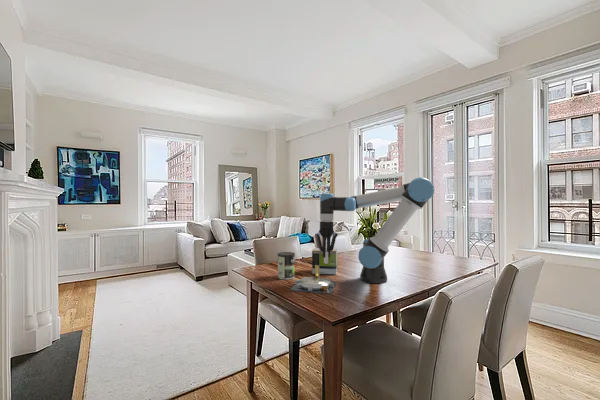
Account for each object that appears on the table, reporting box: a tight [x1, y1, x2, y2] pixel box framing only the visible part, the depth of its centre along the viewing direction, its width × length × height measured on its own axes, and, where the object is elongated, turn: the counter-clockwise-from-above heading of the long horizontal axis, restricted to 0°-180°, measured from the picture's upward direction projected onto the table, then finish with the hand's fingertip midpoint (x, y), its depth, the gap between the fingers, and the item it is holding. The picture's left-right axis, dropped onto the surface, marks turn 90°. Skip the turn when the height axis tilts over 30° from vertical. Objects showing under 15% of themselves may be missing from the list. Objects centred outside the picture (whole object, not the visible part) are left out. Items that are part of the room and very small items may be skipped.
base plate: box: [289, 280, 338, 295], centre depth 157 cm, size 21×21×1 cm
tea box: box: [311, 247, 338, 275], centre depth 186 cm, size 15×10×15 cm
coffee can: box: [277, 251, 296, 280], centre depth 175 cm, size 10×10×14 cm
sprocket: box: [294, 265, 335, 291], centre depth 157 cm, size 21×21×9 cm
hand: (326, 263), depth 165 cm, fingers closed
